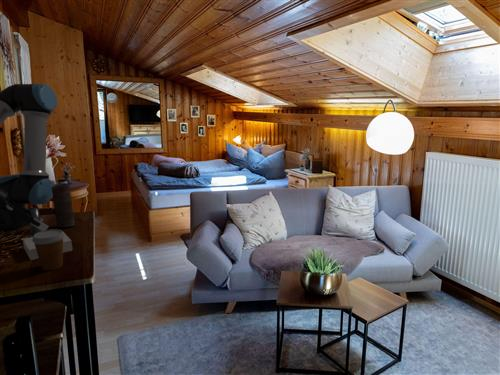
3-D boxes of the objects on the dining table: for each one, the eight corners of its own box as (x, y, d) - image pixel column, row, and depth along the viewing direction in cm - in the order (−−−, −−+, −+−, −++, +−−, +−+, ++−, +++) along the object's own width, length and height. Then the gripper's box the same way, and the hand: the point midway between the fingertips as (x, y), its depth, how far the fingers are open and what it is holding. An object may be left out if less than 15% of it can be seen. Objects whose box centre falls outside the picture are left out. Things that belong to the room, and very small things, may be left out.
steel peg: (31, 238, 150) (26, 208, 147) (41, 236, 152) (37, 206, 150) (32, 241, 147) (28, 210, 144) (43, 238, 149) (39, 208, 147)
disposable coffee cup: (44, 261, 128) (40, 229, 125) (72, 260, 129) (68, 228, 126) (30, 273, 119) (25, 239, 116) (60, 272, 119) (56, 238, 117)
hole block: (24, 248, 139) (22, 239, 138) (63, 240, 148) (62, 230, 147) (30, 260, 129) (29, 249, 128) (72, 250, 137) (71, 240, 137)
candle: (67, 229, 160) (61, 186, 156) (52, 228, 162) (47, 185, 157) (78, 224, 168) (73, 182, 163) (64, 223, 169) (59, 182, 164)
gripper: (-18, 197, 145) (32, 226, 158) (-13, 209, 128) (42, 240, 141) (-4, 182, 147) (44, 212, 160) (2, 193, 130) (56, 225, 143)
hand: (43, 225), depth 150 cm, fingers open, 10 cm apart
